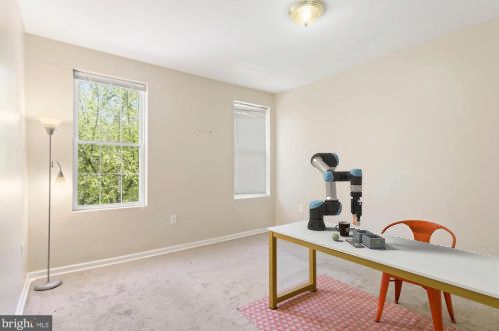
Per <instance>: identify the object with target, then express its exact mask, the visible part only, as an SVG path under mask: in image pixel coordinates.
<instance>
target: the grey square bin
mask: <svg viewBox="0 0 499 331" xmlns="http://www.w3.org/2000/svg"><path fill="white" fill-rule="evenodd" d="M367 234H375V233H373V232H372V231H370V230H368V229H353V230H352V239H354V240H355V241H357V242H359V243H360V244H362V235H367Z"/></svg>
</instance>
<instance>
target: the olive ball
mask: <svg viewBox="0 0 499 331" xmlns="http://www.w3.org/2000/svg"><path fill="white" fill-rule="evenodd" d="M331 239H332V241H339V240H340V234H338V233H333V234H331Z"/></svg>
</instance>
